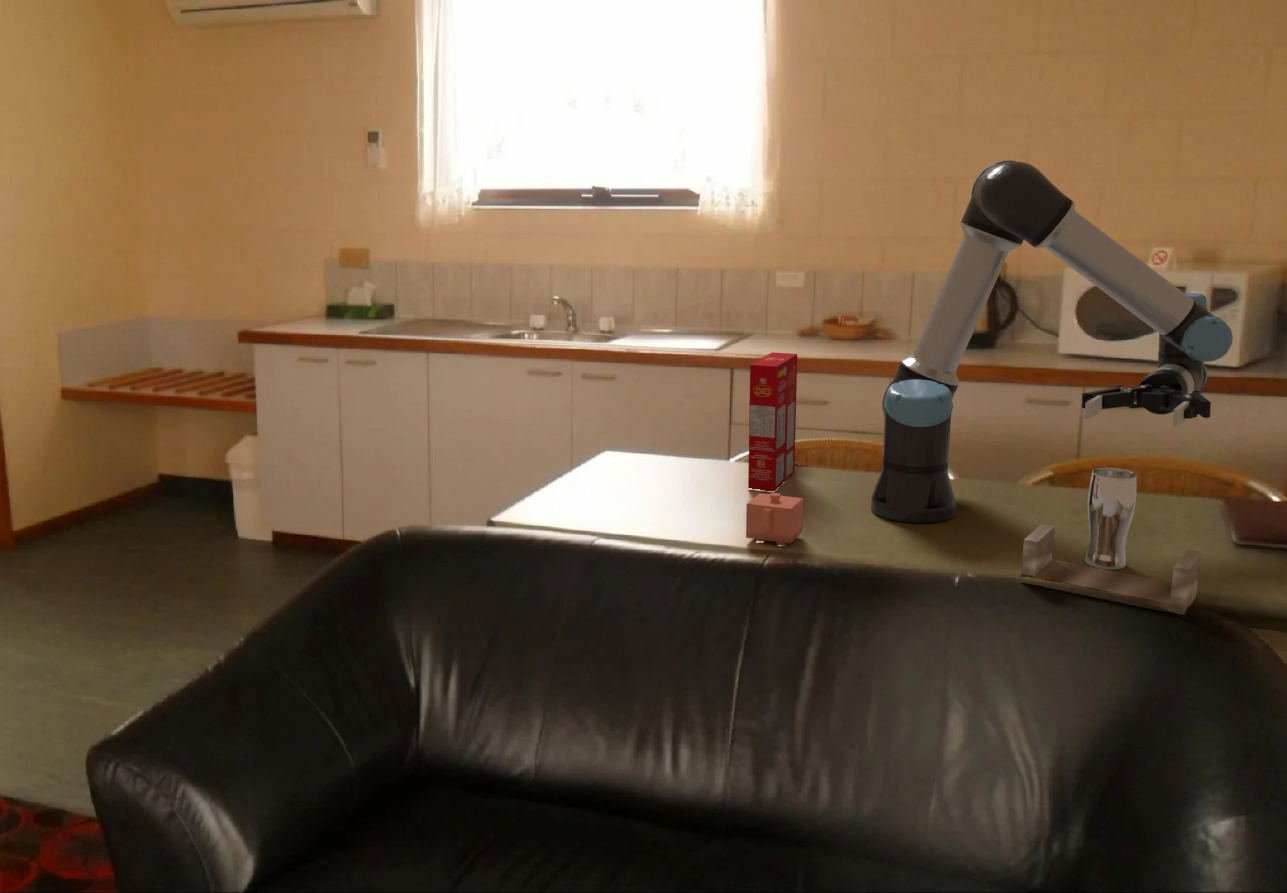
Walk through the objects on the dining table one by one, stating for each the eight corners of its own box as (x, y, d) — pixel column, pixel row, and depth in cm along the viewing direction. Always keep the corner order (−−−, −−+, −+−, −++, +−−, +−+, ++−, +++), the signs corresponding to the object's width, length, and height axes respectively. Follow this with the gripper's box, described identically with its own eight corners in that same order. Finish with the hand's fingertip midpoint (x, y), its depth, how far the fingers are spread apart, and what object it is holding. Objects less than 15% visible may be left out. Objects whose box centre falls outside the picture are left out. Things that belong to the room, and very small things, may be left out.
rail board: (1020, 583, 173) (1024, 539, 172) (1038, 566, 181) (1041, 524, 179) (1183, 616, 160) (1189, 569, 159) (1196, 596, 168) (1201, 551, 166)
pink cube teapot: (807, 532, 198) (808, 486, 196) (786, 553, 187) (787, 505, 185) (764, 526, 201) (765, 481, 199) (741, 547, 191) (742, 500, 189)
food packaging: (769, 471, 236) (772, 352, 230) (794, 473, 234) (797, 353, 228) (748, 490, 223) (750, 364, 216) (774, 493, 221) (776, 366, 214)
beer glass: (1105, 573, 177) (1114, 481, 173) (1072, 559, 183) (1080, 470, 179) (1138, 567, 180) (1148, 476, 176) (1105, 553, 186) (1113, 465, 182)
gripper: (1242, 416, 193) (1213, 444, 177) (1091, 405, 208) (1052, 430, 192) (1245, 373, 191) (1216, 397, 175) (1093, 364, 206) (1053, 386, 190)
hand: (1130, 414), depth 183 cm, fingers open, 13 cm apart
